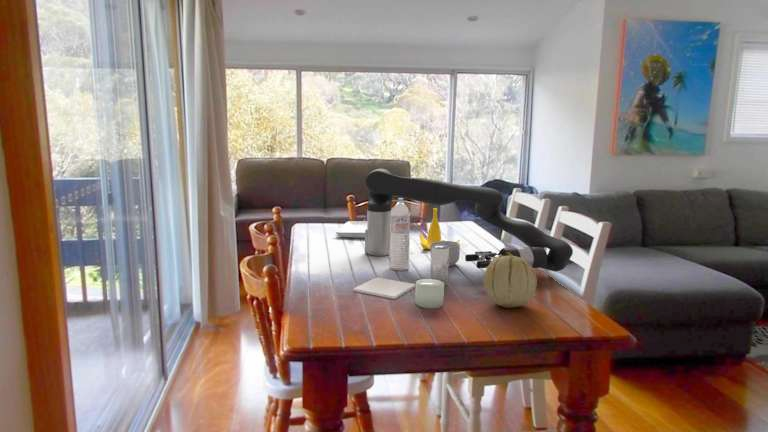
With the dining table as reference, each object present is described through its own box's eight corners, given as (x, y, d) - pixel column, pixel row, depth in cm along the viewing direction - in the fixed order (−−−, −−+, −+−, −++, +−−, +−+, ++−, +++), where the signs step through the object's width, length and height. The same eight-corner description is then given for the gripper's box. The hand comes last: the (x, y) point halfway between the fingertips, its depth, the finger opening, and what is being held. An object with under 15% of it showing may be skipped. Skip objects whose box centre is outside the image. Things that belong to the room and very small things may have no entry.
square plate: (347, 227, 254) (347, 220, 253) (402, 230, 250) (402, 222, 250) (335, 239, 227) (335, 230, 227) (396, 242, 224) (396, 233, 223)
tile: (353, 291, 155) (353, 288, 154) (376, 279, 167) (376, 277, 167) (394, 299, 148) (394, 296, 148) (415, 286, 160) (415, 284, 160)
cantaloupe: (502, 318, 134) (505, 263, 132) (471, 301, 148) (474, 250, 145) (546, 311, 140) (550, 258, 138) (513, 295, 154) (516, 246, 151)
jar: (410, 304, 143) (411, 284, 142) (421, 297, 150) (422, 277, 149) (437, 310, 140) (438, 289, 139) (446, 301, 147) (448, 281, 146)
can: (427, 284, 163) (428, 246, 161) (434, 280, 167) (435, 243, 165) (443, 287, 160) (445, 249, 158) (450, 282, 165) (452, 245, 163)
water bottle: (411, 267, 183) (413, 197, 178) (405, 272, 176) (407, 200, 172) (393, 265, 185) (394, 196, 181) (386, 269, 178) (388, 199, 174)
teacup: (458, 269, 180) (459, 247, 179) (427, 267, 183) (428, 245, 181) (460, 260, 194) (461, 239, 193) (431, 258, 196) (432, 237, 195)
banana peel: (420, 252, 205) (421, 211, 203) (419, 242, 224) (420, 204, 221) (462, 253, 205) (463, 212, 202) (457, 242, 224) (458, 205, 221)
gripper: (505, 243, 176) (462, 245, 172) (528, 252, 162) (481, 255, 158) (504, 264, 177) (461, 266, 173) (526, 275, 164) (480, 278, 159)
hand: (471, 261), depth 165 cm, fingers open, 8 cm apart
